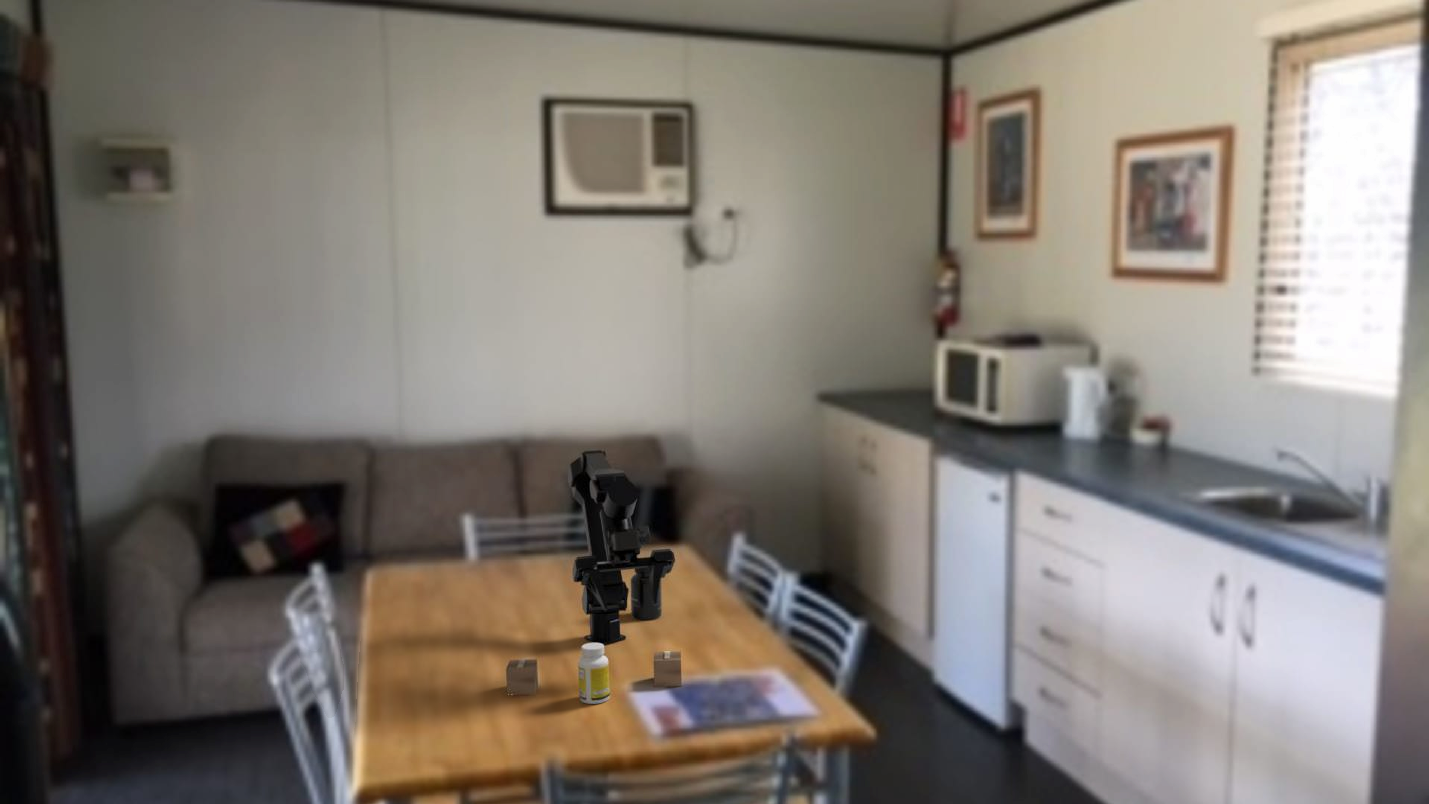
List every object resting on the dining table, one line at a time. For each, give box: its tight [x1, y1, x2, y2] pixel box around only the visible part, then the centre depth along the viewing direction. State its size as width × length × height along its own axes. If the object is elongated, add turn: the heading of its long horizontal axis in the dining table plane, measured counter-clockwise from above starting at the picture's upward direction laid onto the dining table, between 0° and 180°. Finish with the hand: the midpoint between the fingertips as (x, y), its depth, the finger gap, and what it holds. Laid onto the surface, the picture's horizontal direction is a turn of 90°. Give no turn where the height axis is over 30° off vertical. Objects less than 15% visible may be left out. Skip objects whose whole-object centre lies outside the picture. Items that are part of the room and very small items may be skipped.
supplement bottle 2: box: [630, 568, 663, 621], centre depth 254 cm, size 7×7×12 cm
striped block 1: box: [505, 658, 539, 696], centre depth 210 cm, size 5×5×5 cm
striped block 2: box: [653, 650, 683, 688], centre depth 213 cm, size 5×5×5 cm
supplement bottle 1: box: [577, 642, 611, 705], centre depth 205 cm, size 5×5×10 cm
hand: (630, 607), depth 211 cm, fingers open, 9 cm apart
